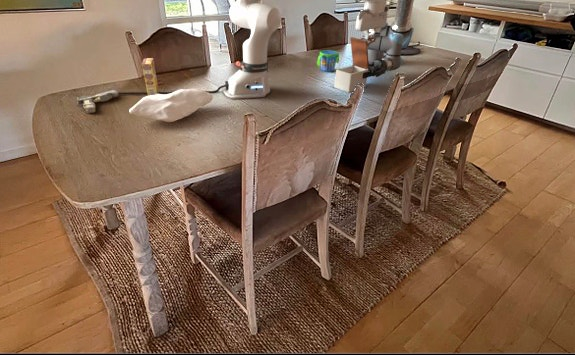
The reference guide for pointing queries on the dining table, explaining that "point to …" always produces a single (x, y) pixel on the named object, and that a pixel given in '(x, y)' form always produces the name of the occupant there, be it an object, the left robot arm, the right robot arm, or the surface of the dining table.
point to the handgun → (95, 100)
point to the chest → (349, 78)
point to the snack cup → (328, 60)
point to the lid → (360, 51)
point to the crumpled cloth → (171, 104)
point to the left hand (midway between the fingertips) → (368, 38)
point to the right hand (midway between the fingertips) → (355, 73)
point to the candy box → (150, 76)
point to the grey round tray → (409, 50)
